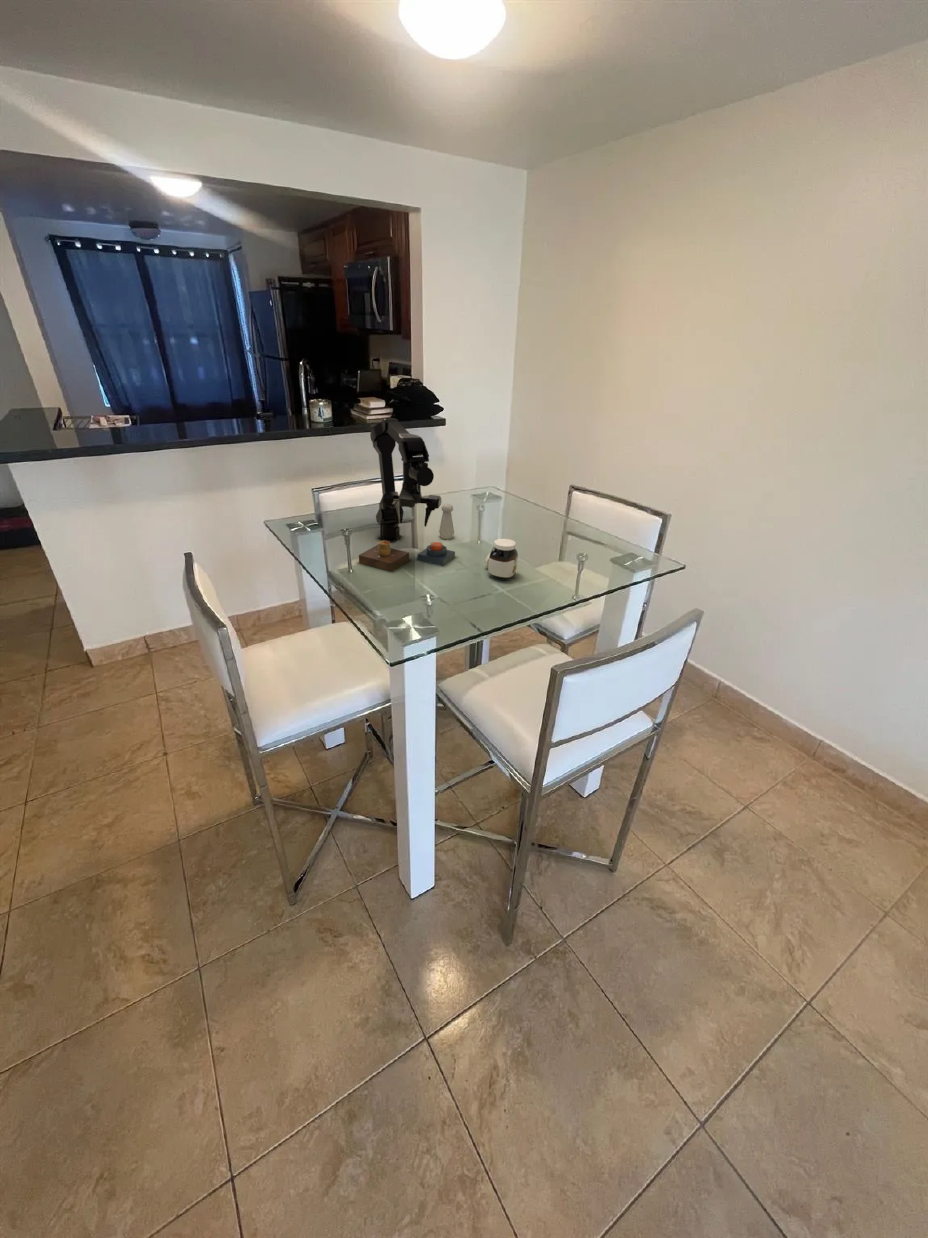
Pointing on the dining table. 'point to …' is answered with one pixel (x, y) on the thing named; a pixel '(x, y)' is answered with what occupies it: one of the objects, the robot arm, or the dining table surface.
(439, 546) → the button
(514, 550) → the spread jar
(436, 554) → the button housing
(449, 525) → the salt shaker
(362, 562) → the dial panel
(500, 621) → the dining table surface
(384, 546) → the dial
